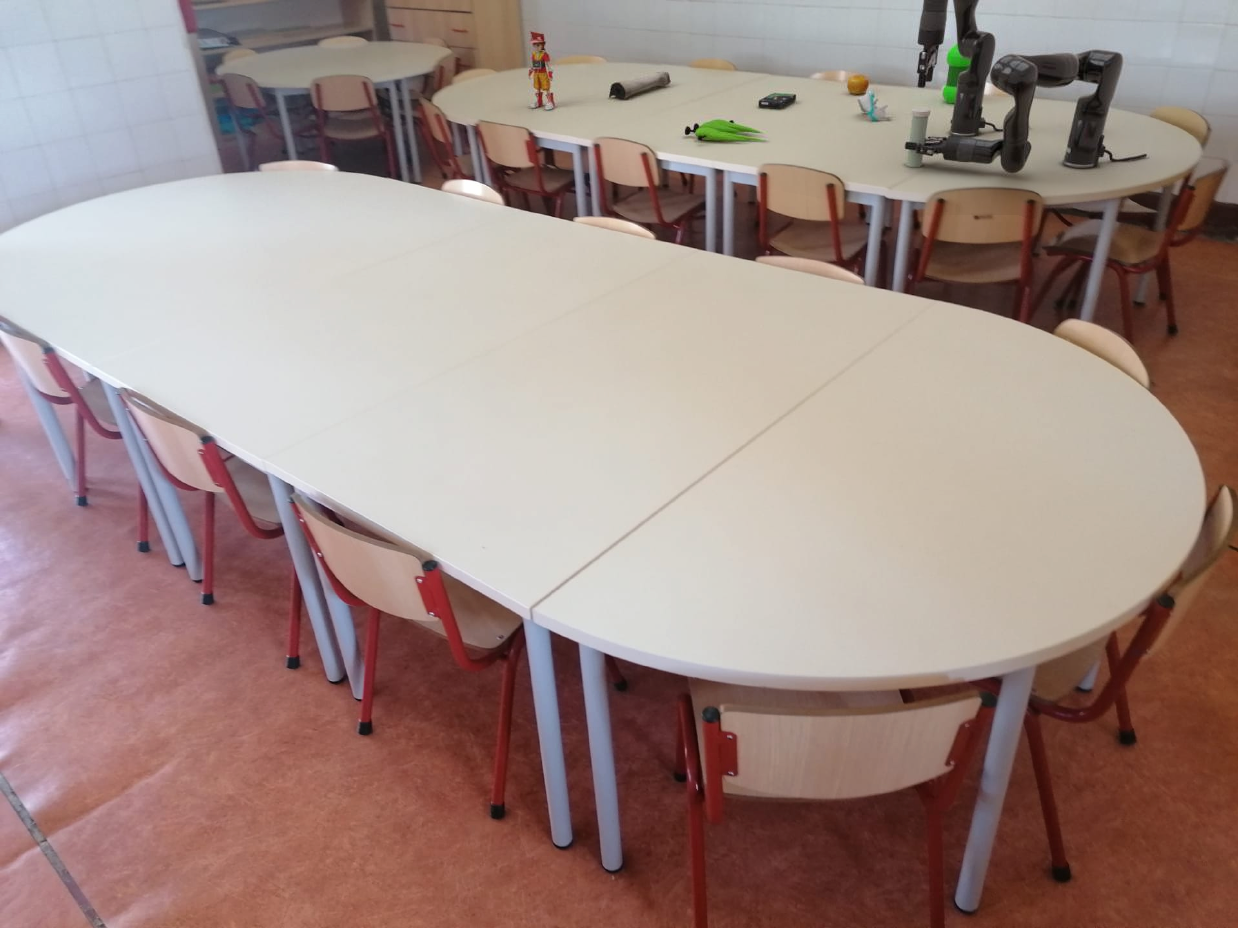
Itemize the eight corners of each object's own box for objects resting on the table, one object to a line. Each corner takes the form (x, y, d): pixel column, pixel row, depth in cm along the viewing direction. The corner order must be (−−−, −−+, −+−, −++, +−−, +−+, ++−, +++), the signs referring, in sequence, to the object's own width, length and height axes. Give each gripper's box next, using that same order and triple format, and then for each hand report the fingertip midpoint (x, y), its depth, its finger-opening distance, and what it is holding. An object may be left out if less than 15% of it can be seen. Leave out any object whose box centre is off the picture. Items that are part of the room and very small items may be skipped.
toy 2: (674, 139, 326) (748, 154, 314) (675, 124, 324) (750, 138, 311) (708, 126, 347) (780, 140, 334) (710, 113, 344) (782, 125, 331)
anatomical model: (852, 90, 344) (878, 82, 343) (855, 117, 350) (880, 110, 349) (864, 99, 332) (891, 92, 331) (867, 127, 338) (893, 120, 337)
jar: (904, 166, 292) (910, 112, 282) (909, 162, 295) (916, 108, 285) (918, 168, 289) (925, 113, 280) (923, 164, 292) (931, 110, 283)
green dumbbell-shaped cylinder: (973, 101, 354) (984, 32, 339) (955, 106, 349) (966, 36, 335) (952, 97, 361) (962, 29, 346) (934, 102, 356) (944, 33, 342)
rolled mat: (651, 76, 408) (662, 61, 399) (662, 93, 408) (674, 79, 400) (605, 92, 391) (616, 77, 383) (617, 110, 391) (628, 95, 383)
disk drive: (781, 110, 359) (796, 101, 369) (782, 102, 357) (796, 94, 367) (757, 108, 364) (772, 99, 374) (758, 100, 362) (773, 92, 372)
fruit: (842, 86, 371) (854, 68, 368) (844, 90, 378) (856, 72, 375) (859, 97, 369) (871, 79, 366) (861, 100, 377) (873, 83, 374)
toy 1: (525, 109, 381) (517, 32, 364) (534, 104, 388) (527, 28, 371) (550, 110, 377) (543, 32, 360) (559, 105, 384) (553, 28, 367)
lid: (908, 116, 283) (909, 111, 282) (915, 112, 286) (915, 107, 285) (926, 118, 280) (926, 112, 279) (932, 114, 284) (932, 108, 283)
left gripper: (925, 22, 275) (918, 79, 285) (913, 30, 265) (906, 89, 275) (950, 23, 272) (942, 80, 281) (939, 31, 262) (931, 90, 271)
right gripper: (970, 131, 284) (917, 125, 292) (956, 143, 274) (902, 137, 283) (966, 155, 288) (914, 149, 296) (952, 167, 279) (899, 161, 287)
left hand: (924, 84), depth 278 cm, fingers open, 8 cm apart
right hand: (908, 143), depth 290 cm, fingers closed on jar, 4 cm apart
